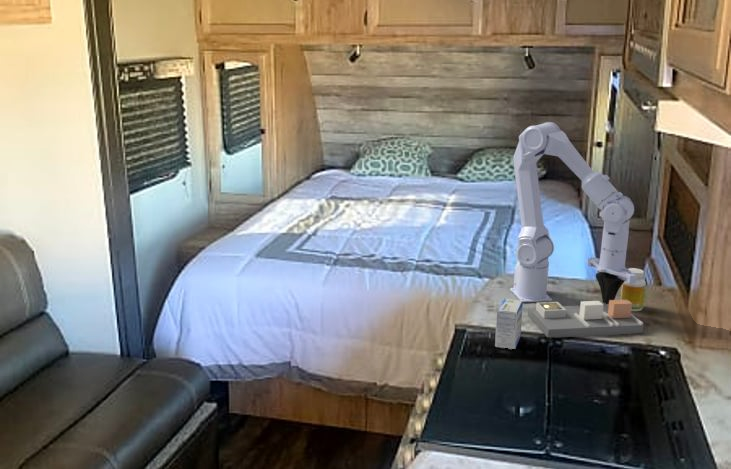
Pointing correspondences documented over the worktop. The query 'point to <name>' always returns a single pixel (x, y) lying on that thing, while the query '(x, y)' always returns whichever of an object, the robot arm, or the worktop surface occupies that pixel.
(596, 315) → the ivory rectangular block
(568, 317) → the switch panel
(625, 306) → the salmon orange block
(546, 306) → the brass button
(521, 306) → the medicine box
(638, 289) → the supplement bottle
